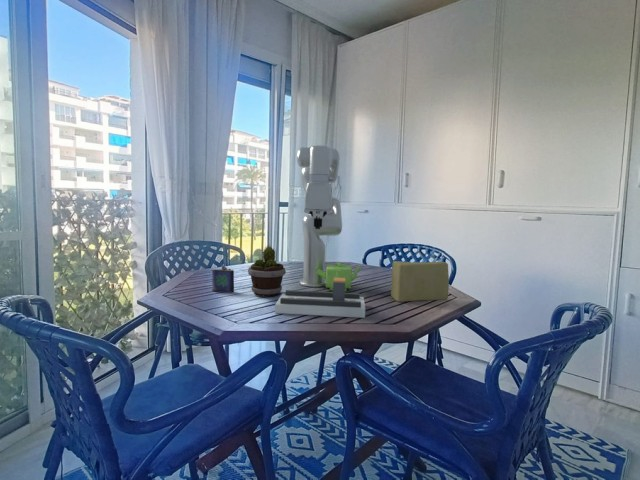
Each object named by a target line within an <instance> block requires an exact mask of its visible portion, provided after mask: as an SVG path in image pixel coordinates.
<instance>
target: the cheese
mask: <svg viewBox="0 0 640 480" xmlns="http://www.w3.org/2000/svg"><path fill="white" fill-rule="evenodd" d="M391 266H392V268H391V269H392V271H391V285H390V286H391V288H390V290H391V292H390V295H391V296H390V297H392V298H393V299H394V300H395V301H396V302H398V303H401V302H402V303H403V302H404V303H405V302H417V301H441V300H442V301H443V300H445V301H446V300H448V297H449V286H450V284H449V283H450V279H449V264H448V263H447V262H446V261H431V262H429V261H427V262H425V261H424V262H421V261H420V262H416V261H415V262H412V261H399V260H397V261H396V260H393V261H392V265H391Z"/></svg>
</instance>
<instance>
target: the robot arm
mask: <svg viewBox="0 0 640 480" xmlns="http://www.w3.org/2000/svg"><path fill="white" fill-rule="evenodd" d="M296 162H297V165H298V167H300V168H301V171H300V180H301V181H300V182H301V185H302V188H303V191H304V193H305V198H304V210H303V212H304V213H306V215H304V217H303V218H302V230H303V231H302V232H303V268H302V269H303V271H302V274H303V275H302V278H301V279H300V280H299V284H300V285H301V286H304V287H310V288H311V287H312V288H319V287H326V279H324V278H323V277H322V276H320V275H319V274H317V273H316V272H317V271H318V270H319V269H320V270H321V271H322V272H324V273H325V269H326V268H325V265H326V264H325V263H326V244H325V241H324V240H323V239H322V237H321V236H338V235H340V234H341V233H342V231H343V221H342V220H343V219H342V216H343V215H342V207H341V206H342V205H341V201H340V200H339V199H338V198H336V197H333V188H332V184H333V183H335V182H336V181H337V180H338V173H339V167H340V154H339V151H338V150H337V148H333V147H329V146H327V145H321V144H320V145H311V147H304V146H303V147H302V146H301V147H299V148H298V150H297V153H296Z"/></svg>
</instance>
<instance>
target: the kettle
mask: <svg viewBox="0 0 640 480" xmlns="http://www.w3.org/2000/svg"><path fill="white" fill-rule="evenodd" d="M363 268H364V267H363V266H358V267H356V268H355V270H354V273H352V270H353V269H352V265H345V264H343V263H342V262H336V264H326V268H325V269H326V271H324V272H322V271H321V270H320V269H319V270H318V271H317V272H316V273H317V274H319V275H320V276H322V277H323V278H324V280H326V285H325V288H329V290H328V291H329V292H333V280H334V278H345V292H348V289H352V282H353V281H355V279H356V278H357V275H358V273H359V271H360V270H361V269H363Z"/></svg>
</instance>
